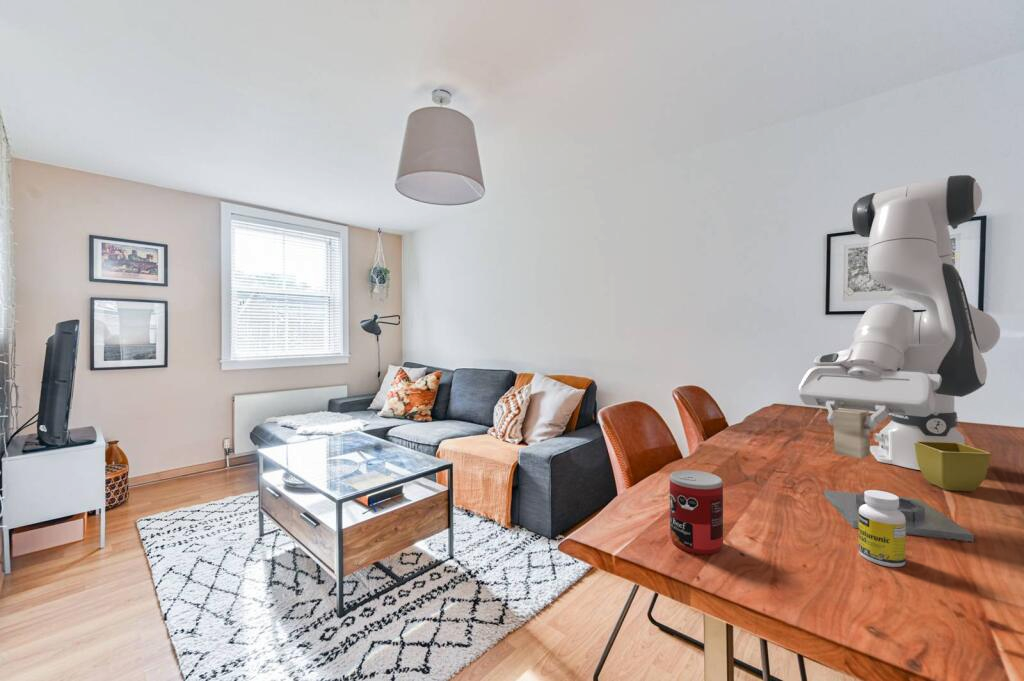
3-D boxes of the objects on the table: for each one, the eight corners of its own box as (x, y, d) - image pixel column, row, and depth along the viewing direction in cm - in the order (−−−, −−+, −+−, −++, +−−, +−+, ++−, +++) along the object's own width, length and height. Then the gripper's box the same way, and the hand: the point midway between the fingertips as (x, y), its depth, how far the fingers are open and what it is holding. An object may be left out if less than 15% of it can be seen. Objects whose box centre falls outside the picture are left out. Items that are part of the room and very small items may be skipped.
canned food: (663, 533, 75) (663, 469, 74) (710, 533, 74) (710, 469, 74) (679, 555, 67) (679, 485, 67) (732, 555, 67) (731, 485, 66)
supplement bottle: (849, 552, 67) (849, 490, 67) (875, 547, 68) (874, 486, 68) (888, 571, 62) (888, 503, 62) (915, 565, 63) (915, 498, 63)
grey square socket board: (823, 495, 90) (823, 482, 90) (920, 505, 85) (920, 491, 85) (853, 527, 75) (853, 512, 75) (973, 542, 70) (973, 525, 70)
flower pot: (992, 496, 89) (992, 452, 89) (942, 493, 90) (942, 451, 90) (957, 482, 97) (957, 442, 97) (912, 480, 99) (912, 441, 99)
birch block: (844, 450, 82) (842, 408, 81) (870, 454, 78) (868, 410, 78) (834, 454, 79) (833, 410, 79) (860, 458, 76) (859, 413, 76)
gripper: (948, 382, 76) (931, 446, 71) (817, 375, 93) (796, 427, 88) (939, 358, 73) (921, 423, 68) (806, 356, 91) (784, 407, 86)
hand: (849, 425), depth 78 cm, fingers closed on birch block, 4 cm apart
